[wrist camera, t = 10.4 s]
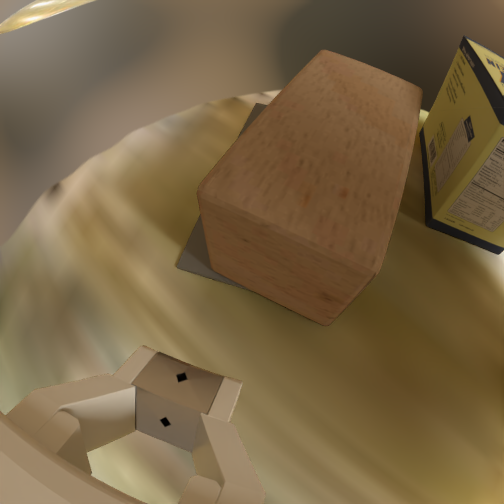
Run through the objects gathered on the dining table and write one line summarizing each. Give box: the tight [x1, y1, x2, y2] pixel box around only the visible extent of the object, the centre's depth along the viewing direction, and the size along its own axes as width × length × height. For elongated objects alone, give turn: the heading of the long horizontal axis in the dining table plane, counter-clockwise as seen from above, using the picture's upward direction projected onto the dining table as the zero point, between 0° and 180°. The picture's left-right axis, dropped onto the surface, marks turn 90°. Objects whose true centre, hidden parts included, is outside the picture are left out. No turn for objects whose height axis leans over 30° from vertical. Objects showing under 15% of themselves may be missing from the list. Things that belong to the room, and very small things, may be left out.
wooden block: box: [197, 50, 423, 326], centre depth 23 cm, size 10×10×20 cm
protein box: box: [419, 36, 504, 254], centre depth 23 cm, size 10×16×16 cm
